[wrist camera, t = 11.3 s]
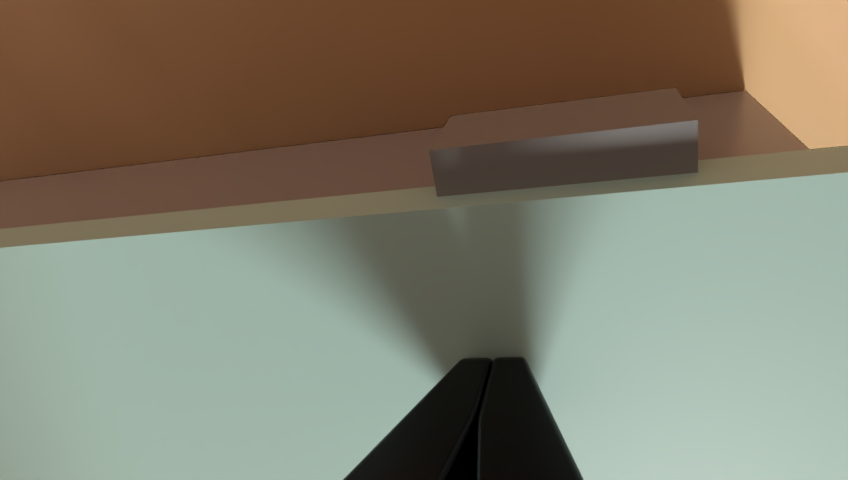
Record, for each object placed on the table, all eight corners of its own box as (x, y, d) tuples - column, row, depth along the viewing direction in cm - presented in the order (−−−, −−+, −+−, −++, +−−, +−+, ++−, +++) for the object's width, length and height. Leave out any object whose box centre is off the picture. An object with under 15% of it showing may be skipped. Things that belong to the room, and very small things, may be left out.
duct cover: (784, 578, 11) (824, 695, 10) (-138, 527, 17) (-219, 596, 15) (822, 68, 8) (896, 109, 6) (-364, 219, 14) (-502, 262, 12)
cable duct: (735, 452, 14) (791, 628, 10) (-45, 444, 20) (-179, 558, 16) (746, 90, 11) (832, 169, 7) (-192, 204, 16) (-400, 281, 13)
